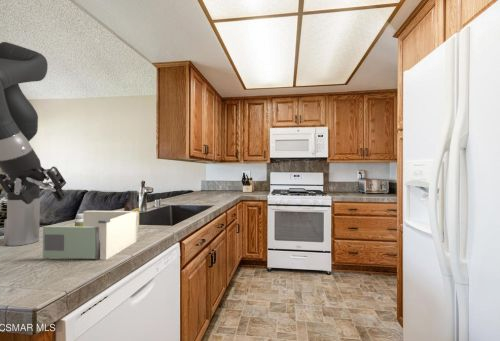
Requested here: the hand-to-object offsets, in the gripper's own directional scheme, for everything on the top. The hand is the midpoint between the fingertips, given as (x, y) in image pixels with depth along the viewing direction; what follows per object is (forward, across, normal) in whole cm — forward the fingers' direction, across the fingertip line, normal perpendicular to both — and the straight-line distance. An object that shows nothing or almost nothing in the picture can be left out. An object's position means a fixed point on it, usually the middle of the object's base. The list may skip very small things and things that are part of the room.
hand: (46, 200), depth 67 cm
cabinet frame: (+27, -1, -4) cm, 27 cm away
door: (+21, 0, +4) cm, 21 cm away
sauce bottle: (+38, -7, -19) cm, 43 cm away
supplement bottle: (+35, +13, -19) cm, 42 cm away
